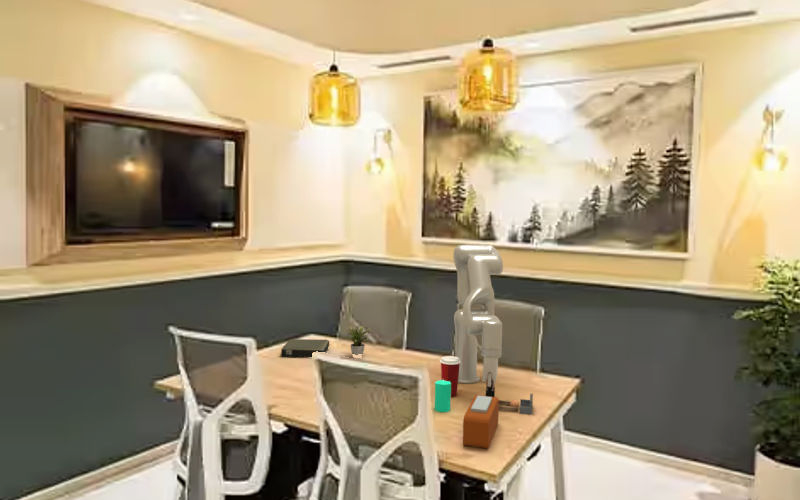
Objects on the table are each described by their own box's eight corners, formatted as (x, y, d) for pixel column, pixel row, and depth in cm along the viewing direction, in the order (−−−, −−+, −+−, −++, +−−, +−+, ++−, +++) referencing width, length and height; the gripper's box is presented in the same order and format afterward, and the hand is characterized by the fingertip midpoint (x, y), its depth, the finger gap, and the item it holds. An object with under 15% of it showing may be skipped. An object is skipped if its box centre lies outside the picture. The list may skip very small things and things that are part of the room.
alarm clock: (475, 421, 217) (475, 390, 216) (498, 423, 215) (499, 392, 214) (462, 447, 194) (463, 412, 193) (488, 450, 192) (489, 416, 191)
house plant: (371, 362, 291) (371, 328, 290) (342, 361, 291) (343, 328, 290) (373, 354, 305) (373, 322, 304) (345, 353, 306) (346, 322, 304)
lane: (472, 408, 230) (472, 404, 229) (474, 401, 237) (474, 397, 237) (518, 412, 226) (518, 408, 226) (518, 405, 233) (519, 401, 233)
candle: (445, 413, 224) (446, 381, 223) (431, 410, 227) (432, 379, 226) (453, 408, 229) (453, 377, 228) (439, 405, 232) (439, 375, 231)
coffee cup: (461, 392, 248) (462, 356, 246) (456, 398, 240) (457, 361, 239) (442, 390, 251) (442, 354, 249) (436, 396, 243) (437, 359, 241)
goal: (519, 413, 225) (519, 400, 224) (520, 405, 234) (520, 392, 233) (532, 414, 224) (532, 401, 223) (532, 406, 233) (532, 393, 232)
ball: (509, 409, 228) (510, 401, 228) (510, 406, 232) (510, 398, 231) (518, 410, 228) (519, 402, 227) (519, 407, 231) (519, 399, 231)
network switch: (284, 347, 317) (284, 338, 317) (329, 347, 320) (329, 338, 319) (280, 360, 294) (280, 349, 293) (328, 359, 296) (329, 349, 296)
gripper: (483, 346, 239) (482, 391, 240) (479, 356, 223) (478, 405, 224) (502, 347, 237) (501, 393, 239) (500, 358, 221) (498, 406, 223)
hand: (490, 398), depth 232 cm, fingers closed on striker, 2 cm apart
